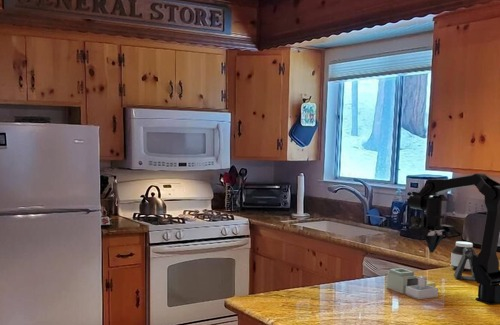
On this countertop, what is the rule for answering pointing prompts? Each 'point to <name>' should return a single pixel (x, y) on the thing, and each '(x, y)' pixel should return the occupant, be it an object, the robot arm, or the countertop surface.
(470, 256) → the phone stand
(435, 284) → the chock
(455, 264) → the spread jar
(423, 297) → the tray
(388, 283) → the grey-green hollow stepped block
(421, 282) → the pin
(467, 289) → the countertop surface
